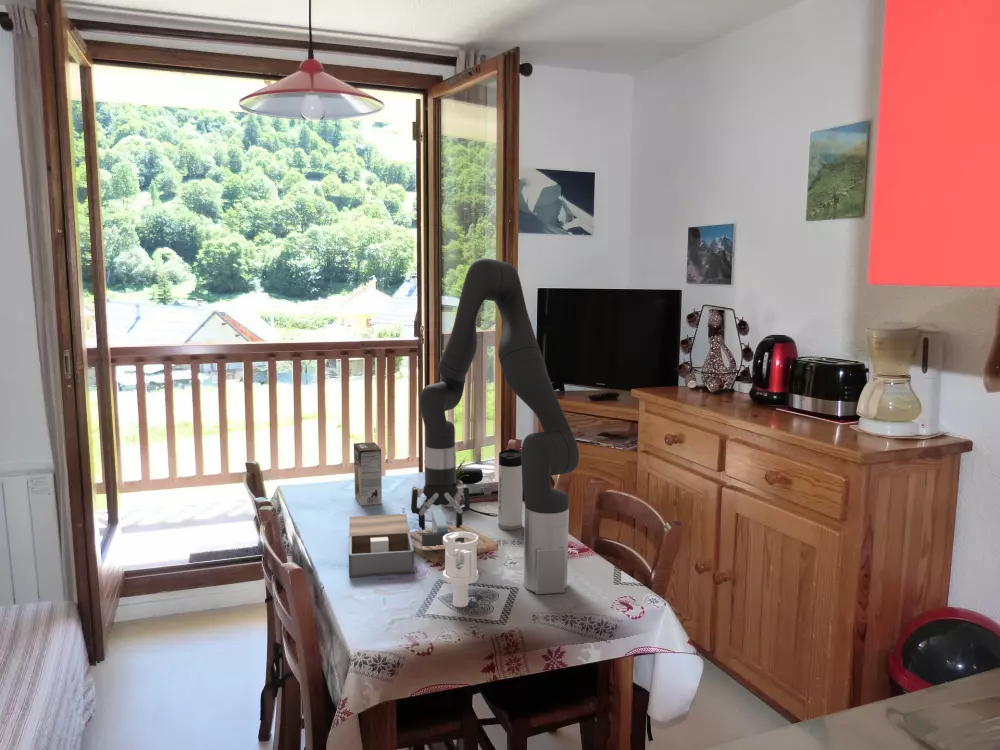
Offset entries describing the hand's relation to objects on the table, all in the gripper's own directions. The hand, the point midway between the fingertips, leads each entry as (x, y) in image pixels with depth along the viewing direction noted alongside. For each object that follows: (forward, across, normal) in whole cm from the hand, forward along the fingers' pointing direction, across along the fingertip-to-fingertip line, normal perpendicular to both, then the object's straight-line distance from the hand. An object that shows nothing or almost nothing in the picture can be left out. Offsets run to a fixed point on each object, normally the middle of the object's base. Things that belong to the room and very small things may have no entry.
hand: (440, 528), depth 189 cm
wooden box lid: (+3, -15, 0) cm, 15 cm away
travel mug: (+3, +19, +8) cm, 21 cm away
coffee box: (+3, -17, +36) cm, 39 cm away
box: (+3, -15, -14) cm, 20 cm away
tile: (0, -15, -8) cm, 17 cm away
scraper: (+3, 0, +2) cm, 4 cm away
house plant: (+3, +5, +30) cm, 30 cm away
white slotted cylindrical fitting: (+3, 0, -36) cm, 37 cm away
